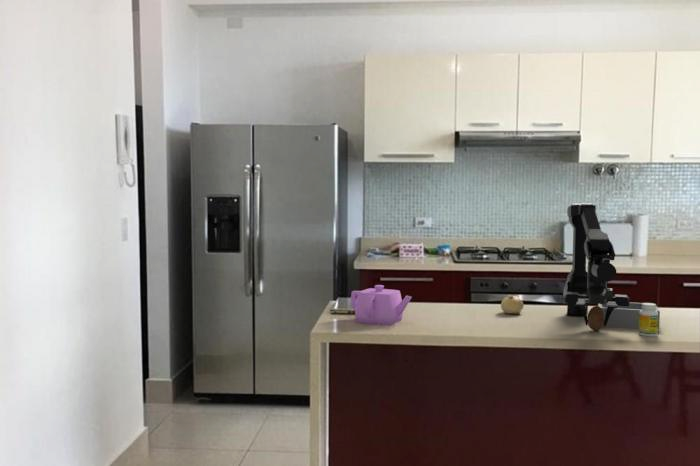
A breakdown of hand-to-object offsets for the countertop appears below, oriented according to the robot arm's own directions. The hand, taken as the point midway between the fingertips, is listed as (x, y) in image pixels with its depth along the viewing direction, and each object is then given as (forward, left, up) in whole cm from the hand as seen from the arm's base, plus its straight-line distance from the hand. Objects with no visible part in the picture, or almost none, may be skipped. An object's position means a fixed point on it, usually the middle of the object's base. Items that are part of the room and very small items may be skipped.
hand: (595, 325), depth 199 cm
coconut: (0, 0, -2) cm, 2 cm away
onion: (-28, +20, -2) cm, 34 cm away
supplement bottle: (+15, -1, -2) cm, 15 cm away
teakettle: (-69, -8, -2) cm, 69 cm away
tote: (+10, +15, -2) cm, 18 cm away
